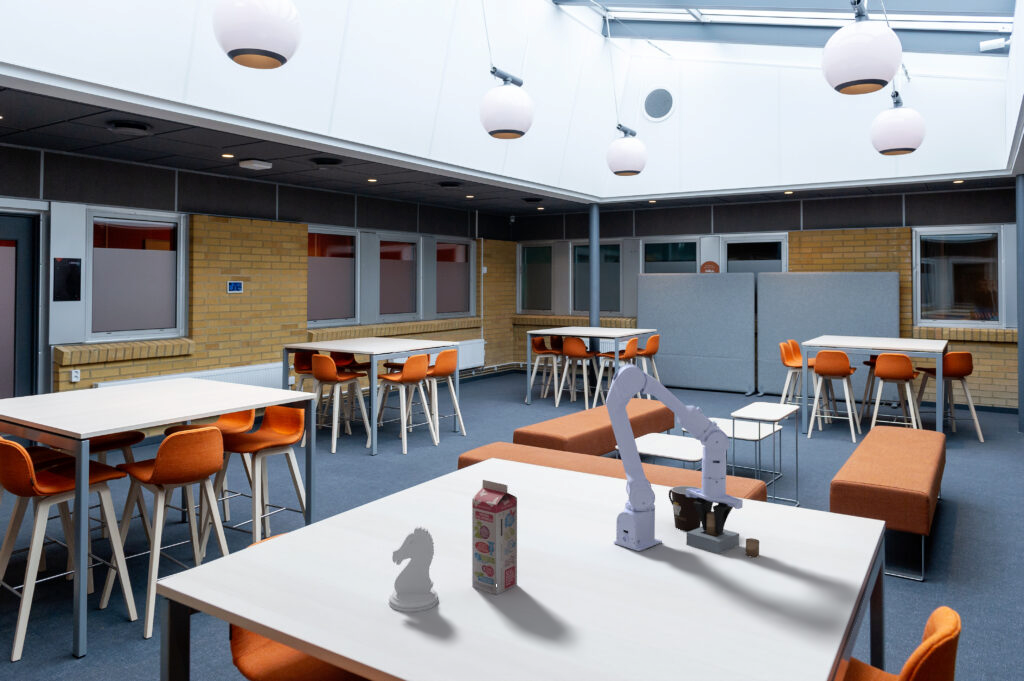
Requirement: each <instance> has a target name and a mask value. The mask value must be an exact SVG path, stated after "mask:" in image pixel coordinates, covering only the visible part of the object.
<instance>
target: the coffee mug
mask: <svg viewBox="0 0 1024 681" xmlns="http://www.w3.org/2000/svg"><path fill="white" fill-rule="evenodd" d="M688 488H694V489H701V490H702V487H697V486H693V485H692V486H691V485H677V486H673V487H672V488H670V489H669V490H668V500H669V501H670V503H671V505H672V509H673V511H672V512H673V519H674V527H675V529H677V528H678V529H677V530H679V529H680V531H682V530H685V531H684V532H689V531H692V530H695V529H697V528H700V527H701V525H702V522H701V519H700V516H699V513H698V511H697V509H696V507H695V506H694V502H695V501H696V500H697V498H693V497H686V489H688Z"/></svg>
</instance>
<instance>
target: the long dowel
mask: <svg viewBox="0 0 1024 681" xmlns="http://www.w3.org/2000/svg"><path fill="white" fill-rule="evenodd" d="M706 535H710V536H714V537H717V536H719V534H716V532H715V514H714V510H711V511H709V512H707V525H706Z"/></svg>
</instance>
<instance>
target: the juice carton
mask: <svg viewBox="0 0 1024 681" xmlns="http://www.w3.org/2000/svg"><path fill="white" fill-rule="evenodd" d="M508 488H509V487H508V485H507V484H504V483H501V482H500V483H499V482H495V481H492V480H491V481H490V480H486V479H482V486H481V488H480V490H478V492H476V494H475V495H474V496H473V497H472V498H471V499H472V506H471V507H472V508H471V509H472V512H471V513H472V515H471V520H472V526H471V527H472V528H471V529H472V530H471V534H472V535H471V536H472V537H471V540H472V541H471V542H472V543H471V544H472V545H471V546H472V547H471V548H472V550H471V552H472V553H471V554H472V558H471V559H472V561H471V562H472V563H471V564H472V567H471V568H472V569H471V570H472V571H471V572H472V574H471V576H472V577H471V580H472V581H471V582H472V584H471V585H472V588H475V589H477V590H481V591H484V592H486V593H490V594H492V595H496V596H497V595H499V594H502V593H503V592H505V591H508V590H509V589H511V588H514V587H516V586H517V585H518V497H517V496H516V495H513V494H511V493H509V492H508ZM496 584H497V587H496Z"/></svg>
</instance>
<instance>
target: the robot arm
mask: <svg viewBox="0 0 1024 681" xmlns="http://www.w3.org/2000/svg"><path fill="white" fill-rule="evenodd" d="M639 392H641V393H642V395H648V396H649V395H650V396H653V397H654V398H656V399H657V400H658V401H659V402H661V403H662V405H664V406H665V407H667V408H668V409H669V410H670V411H672V412H673V413H674V415H676V420H677V421H676V422H677V424H678V425H679V426H681V428H683V429H684V430H685V431H686V432H688V433H689V434H690V435H691V436H692V437H693V438H694V439H695V440H697V441H699V442H700V443H701V445H702V457H701V489H702V490H701V489H694V488H688V489H686V497H693V498H697V500H696V501H695V502H694V506H695V507H696V509H697V511H698V513H699V516H700V519H701V527H703V530H705V531H706V525H707V512H709V511H714V514H715V532H716V534H720V533H723V529H724V528H725V525H726V521H727V519H728V517H729V515H730V514H731V511H732V510H733V508H734V509H736V510H739V509H742V508H743V502H744V501H743V499H741V498H738V497H735V496H733V495H730V494H727V492H726V491H727V450H728V449H729V447H730V441H729V438H728V435H727V434H726V433H725V432H724V431H723V430H722V429H721V428H720V427H719V426H718V423H717V422H716V421H714V420H713V421H712V420H711V419H709V418H708V417H707V416H706V415H705V414H703V413H702V412H703V411H704V410H702V408H701V407H699V406H697V407H696V406H695V405H693V404H691V405H685V404H684V403H683V402H682V401H681V400H680V399H679V398H678V397H676V396H675V395H674V394H673V393H672V392H671V391H670V390H669V389H667V388H666V386H664V385H663V384H662V383H661V382H660V381H659V380H658V379H656V378H655V377H654V376H652V375H650V374H649V373H647V372H646V371H644V370H642V369H640V367H638V366H637V365H635V364H632V363H626V364H624V365H623V364H622V365H621V366H620V367H619V368H618V370H617V371H616V372H615V373H614V374H613V377H612V380H611V383H610V387H609V389H608V392H607V396H606V399H605V406H606V409H607V412H608V416H609V420H610V423H611V424H610V425H611V427H612V431H613V435H614V437H615V440H616V444H617V449H618V452H619V455H620V459H621V462H622V466H623V469H624V473H625V477H626V487H625V488H626V493H627V496H628V500H627V501H626V502H625V506H624V507H625V508H624V510H623V511H621V512H619V514H618V515H617V517H616V531H615V532H616V537H615V538H616V540H614V541H613V544H615V545H618V546H622V547H625V548H629V549H631V550H634V551H637V552H641V551H643V550H646V549H648V548H651V547H654V546H656V545H659V544H661V543H662V542H663V540H661V539H658V538H655V536H656V535H655V534H656V527H655V526H656V525H655V524H656V505H655V502H656V494H655V491H654V490H653V488H652V484H651V482H650V481H649V480H648V478H647V476H646V474H645V471H644V467H643V464H642V461H641V456H640V454H639V450H638V447H637V444H636V440H635V436H634V432H633V429H632V425H631V423H630V419H629V415H628V411H627V406H628V404H629V403H630V401H631V399H632V398H633V397H634V396H635V395H636V394H638V393H639ZM715 503H716V505H713V504H715Z"/></svg>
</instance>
